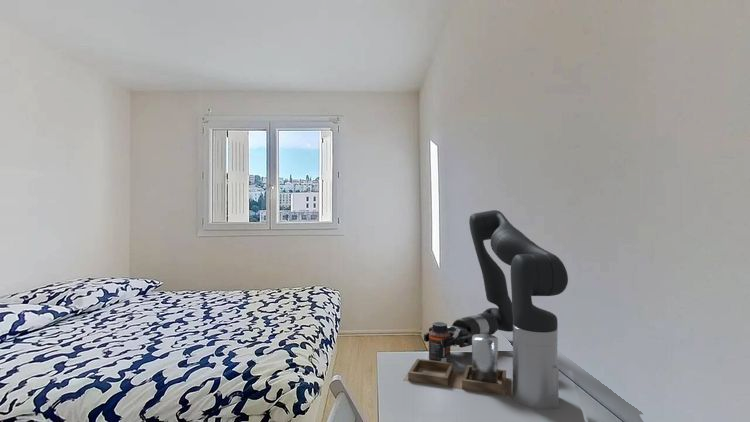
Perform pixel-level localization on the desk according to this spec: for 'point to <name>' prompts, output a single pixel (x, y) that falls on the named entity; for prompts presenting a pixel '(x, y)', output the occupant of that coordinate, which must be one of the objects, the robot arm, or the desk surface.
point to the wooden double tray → (456, 377)
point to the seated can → (485, 358)
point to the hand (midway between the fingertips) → (433, 341)
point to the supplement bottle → (438, 343)
